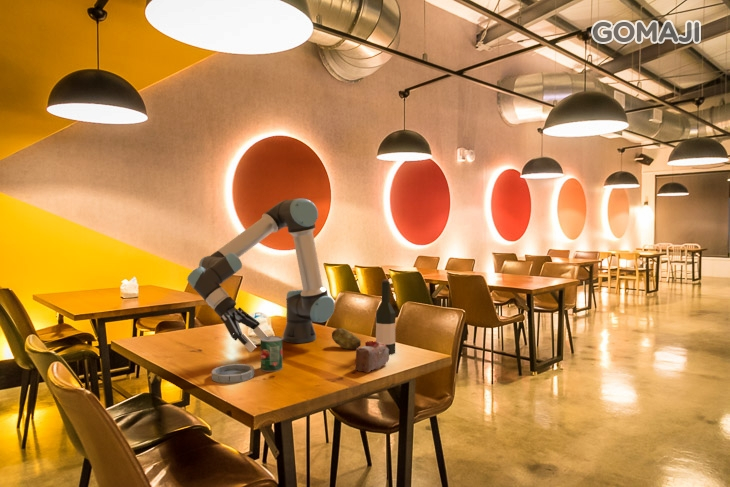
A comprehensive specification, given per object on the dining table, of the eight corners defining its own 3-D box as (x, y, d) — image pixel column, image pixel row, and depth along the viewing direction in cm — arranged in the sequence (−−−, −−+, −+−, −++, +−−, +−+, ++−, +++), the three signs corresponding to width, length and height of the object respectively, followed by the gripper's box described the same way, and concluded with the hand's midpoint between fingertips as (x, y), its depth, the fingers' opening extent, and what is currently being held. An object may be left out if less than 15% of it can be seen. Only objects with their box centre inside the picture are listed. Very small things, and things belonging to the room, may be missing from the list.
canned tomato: (287, 367, 170) (287, 337, 170) (272, 373, 163) (271, 342, 163) (271, 364, 174) (271, 335, 174) (255, 369, 167) (255, 339, 167)
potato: (348, 352, 192) (348, 333, 191) (328, 346, 201) (328, 328, 201) (363, 348, 197) (363, 330, 197) (343, 343, 207) (343, 325, 206)
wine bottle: (397, 350, 194) (398, 279, 193) (392, 355, 186) (392, 281, 186) (378, 349, 197) (379, 278, 196) (372, 353, 189) (373, 280, 188)
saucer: (251, 368, 168) (251, 362, 168) (256, 380, 155) (256, 373, 155) (210, 373, 163) (210, 366, 163) (213, 385, 150) (212, 378, 150)
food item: (372, 361, 178) (372, 336, 178) (390, 364, 174) (390, 338, 174) (353, 370, 166) (353, 343, 166) (372, 374, 162) (372, 346, 162)
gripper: (229, 304, 183) (265, 344, 181) (197, 315, 158) (239, 361, 156) (242, 291, 182) (278, 330, 180) (212, 300, 157) (254, 346, 155)
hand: (260, 345), depth 168 cm, fingers open, 13 cm apart
